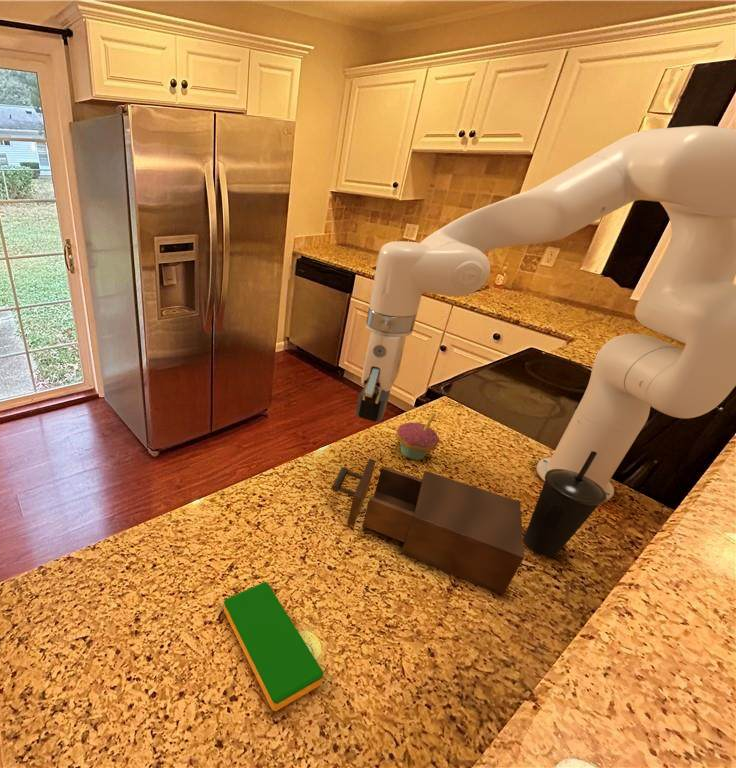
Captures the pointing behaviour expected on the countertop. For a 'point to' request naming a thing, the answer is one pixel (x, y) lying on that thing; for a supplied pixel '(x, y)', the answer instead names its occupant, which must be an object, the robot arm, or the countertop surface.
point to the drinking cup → (562, 508)
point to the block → (383, 401)
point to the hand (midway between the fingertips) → (371, 411)
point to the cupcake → (417, 439)
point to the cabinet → (466, 532)
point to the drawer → (383, 500)
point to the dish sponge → (272, 646)
